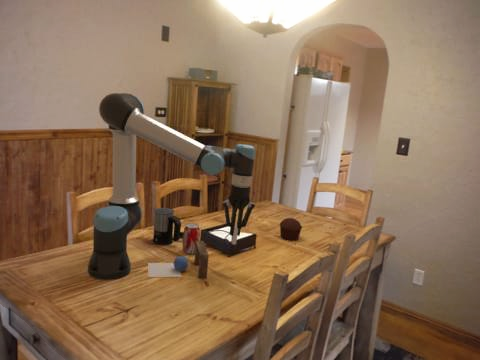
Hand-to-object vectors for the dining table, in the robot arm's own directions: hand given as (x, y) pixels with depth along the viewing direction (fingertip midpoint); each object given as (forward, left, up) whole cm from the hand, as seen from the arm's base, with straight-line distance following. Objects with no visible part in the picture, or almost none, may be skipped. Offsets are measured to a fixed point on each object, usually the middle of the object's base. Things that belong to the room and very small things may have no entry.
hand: (233, 243), depth 157 cm
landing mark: (-26, 0, -11) cm, 29 cm away
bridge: (-12, 0, -11) cm, 17 cm away
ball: (-20, 0, -8) cm, 22 cm away
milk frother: (-22, +31, -12) cm, 40 cm away
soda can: (-14, +18, -11) cm, 26 cm away
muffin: (+38, +36, -11) cm, 53 cm away
